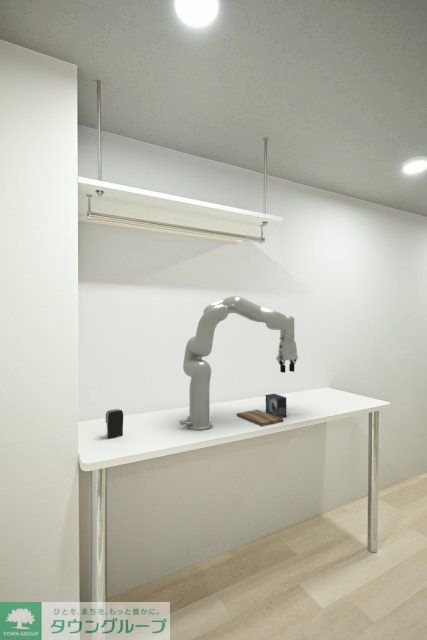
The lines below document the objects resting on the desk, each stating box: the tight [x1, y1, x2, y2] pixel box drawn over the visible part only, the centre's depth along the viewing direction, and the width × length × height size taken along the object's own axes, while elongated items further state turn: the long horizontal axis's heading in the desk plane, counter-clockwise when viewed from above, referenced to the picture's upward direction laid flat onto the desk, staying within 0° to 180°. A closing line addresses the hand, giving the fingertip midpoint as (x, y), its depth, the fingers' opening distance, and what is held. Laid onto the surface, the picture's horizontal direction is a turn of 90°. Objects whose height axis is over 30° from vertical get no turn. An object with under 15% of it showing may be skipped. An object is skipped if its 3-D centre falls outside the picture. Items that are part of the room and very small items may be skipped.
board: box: [236, 409, 284, 427], centre depth 165 cm, size 14×20×2 cm
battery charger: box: [105, 408, 124, 439], centre depth 140 cm, size 7×4×11 cm, turn 130°
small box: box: [265, 393, 288, 419], centre depth 172 cm, size 11×6×10 cm, turn 27°
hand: (287, 371), depth 176 cm, fingers open, 6 cm apart
